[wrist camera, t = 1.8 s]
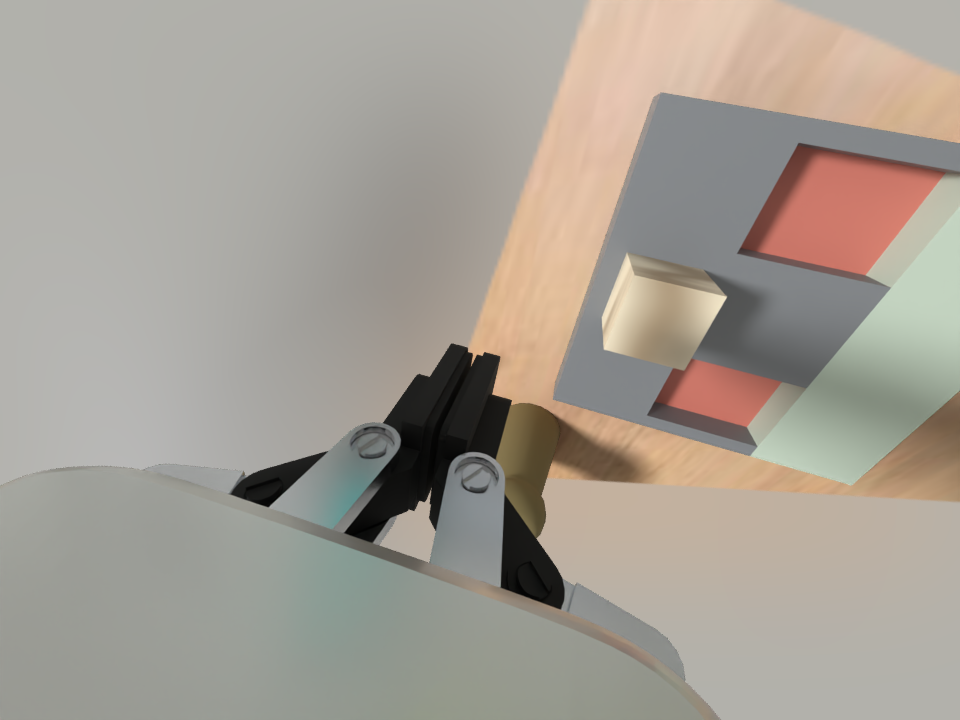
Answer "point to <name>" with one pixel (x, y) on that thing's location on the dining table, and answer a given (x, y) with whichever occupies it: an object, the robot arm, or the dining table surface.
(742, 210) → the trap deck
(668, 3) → the dining table surface
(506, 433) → the olive pawn
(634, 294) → the beech block
